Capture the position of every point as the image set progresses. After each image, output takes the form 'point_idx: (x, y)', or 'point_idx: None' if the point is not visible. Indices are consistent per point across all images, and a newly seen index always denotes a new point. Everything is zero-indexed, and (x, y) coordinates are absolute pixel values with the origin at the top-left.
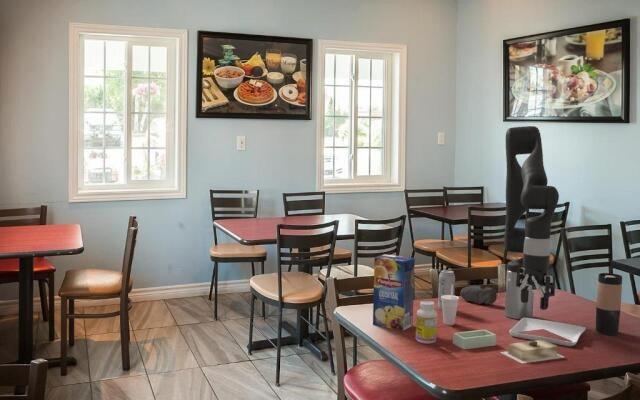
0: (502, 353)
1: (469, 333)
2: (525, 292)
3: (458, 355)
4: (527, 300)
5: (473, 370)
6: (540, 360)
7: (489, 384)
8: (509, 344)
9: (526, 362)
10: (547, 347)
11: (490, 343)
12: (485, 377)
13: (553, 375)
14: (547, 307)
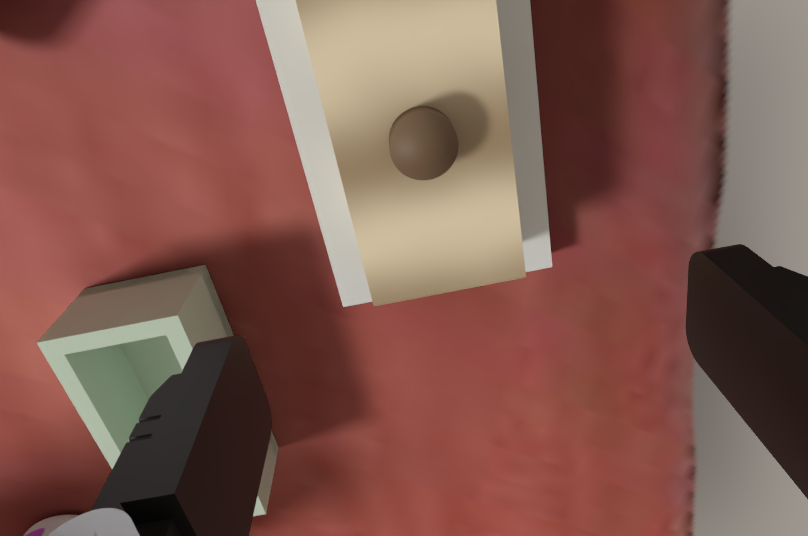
0: (365, 301)
1: (123, 444)
2: (217, 523)
3: (312, 477)
4: (234, 357)
5: (520, 477)
6: (535, 122)
7: (687, 472)
8: (383, 303)
9: (545, 232)
10: (500, 42)
11: (210, 323)
12: (612, 461)
13: (717, 131)
14: (791, 279)
